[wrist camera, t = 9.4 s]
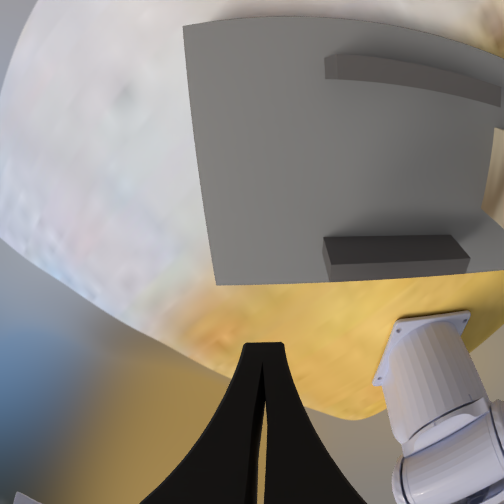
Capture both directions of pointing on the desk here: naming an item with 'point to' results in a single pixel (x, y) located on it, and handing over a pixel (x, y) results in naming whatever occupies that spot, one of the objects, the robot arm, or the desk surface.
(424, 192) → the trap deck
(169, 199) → the desk surface
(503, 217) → the maple block
